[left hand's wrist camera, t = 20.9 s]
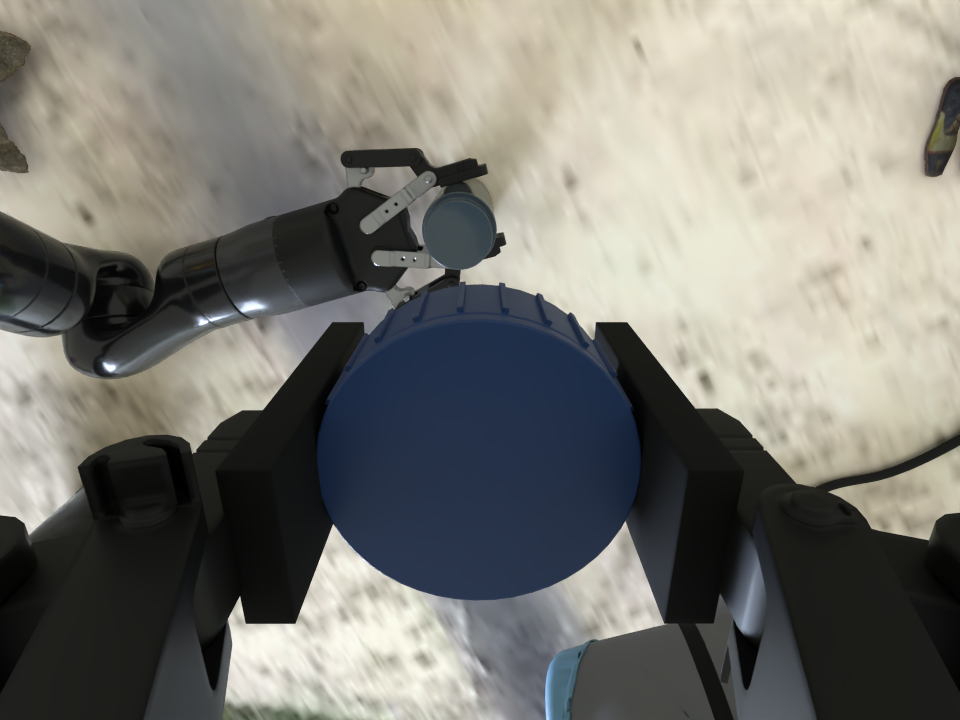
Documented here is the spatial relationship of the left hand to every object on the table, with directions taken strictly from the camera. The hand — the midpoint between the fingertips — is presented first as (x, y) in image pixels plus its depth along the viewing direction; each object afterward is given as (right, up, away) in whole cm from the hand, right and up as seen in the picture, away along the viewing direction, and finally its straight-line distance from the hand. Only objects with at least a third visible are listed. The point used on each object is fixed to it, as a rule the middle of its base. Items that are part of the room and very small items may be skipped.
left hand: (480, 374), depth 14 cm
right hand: (+1, +12, +30) cm, 33 cm away
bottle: (-1, +14, +36) cm, 39 cm away
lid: (0, -2, -4) cm, 4 cm away
